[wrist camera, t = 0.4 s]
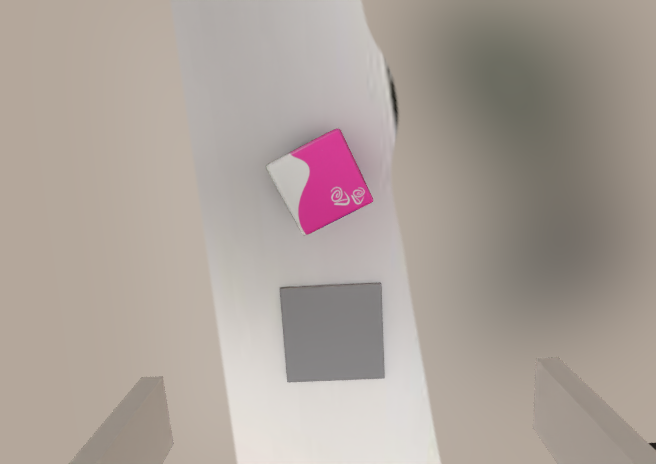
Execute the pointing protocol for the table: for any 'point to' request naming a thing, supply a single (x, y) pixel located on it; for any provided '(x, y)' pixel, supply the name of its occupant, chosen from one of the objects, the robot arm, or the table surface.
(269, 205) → the table surface
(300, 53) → the table surface
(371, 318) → the slate coaster
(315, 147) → the supplement box
